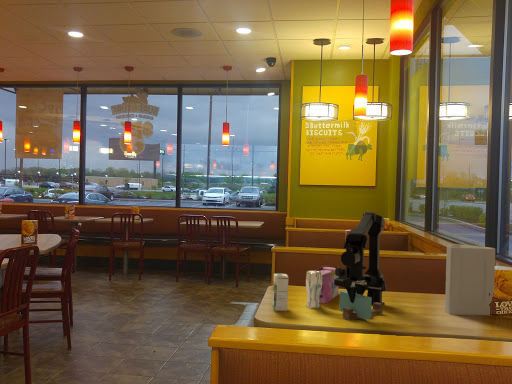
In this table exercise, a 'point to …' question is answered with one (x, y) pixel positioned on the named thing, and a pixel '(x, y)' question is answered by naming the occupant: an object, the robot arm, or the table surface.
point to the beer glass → (313, 288)
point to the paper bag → (469, 279)
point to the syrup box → (280, 292)
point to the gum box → (328, 283)
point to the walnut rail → (350, 314)
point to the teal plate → (356, 304)
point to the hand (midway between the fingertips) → (355, 302)
